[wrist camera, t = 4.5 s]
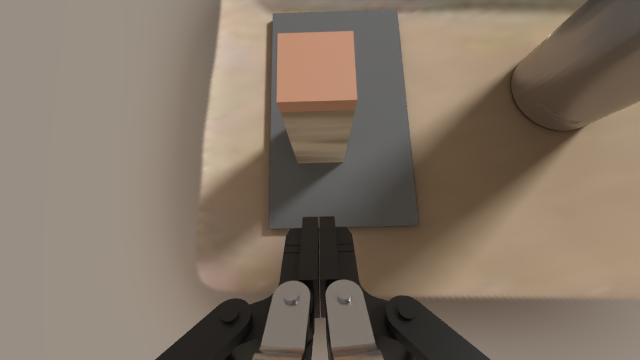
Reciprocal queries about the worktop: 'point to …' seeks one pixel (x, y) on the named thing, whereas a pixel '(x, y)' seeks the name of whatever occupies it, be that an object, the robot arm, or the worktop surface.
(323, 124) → the birch block
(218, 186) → the worktop surface
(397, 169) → the rubber mat
